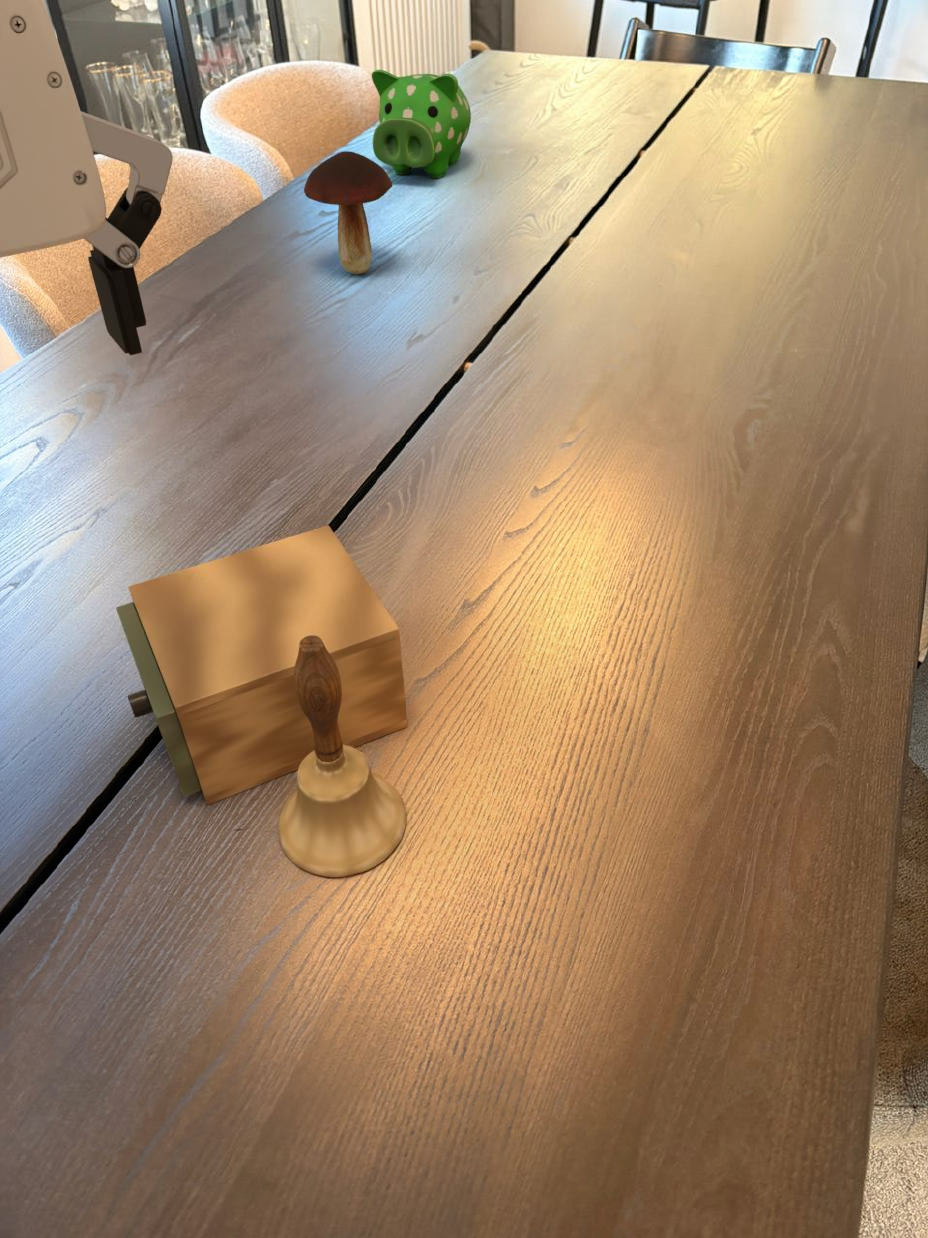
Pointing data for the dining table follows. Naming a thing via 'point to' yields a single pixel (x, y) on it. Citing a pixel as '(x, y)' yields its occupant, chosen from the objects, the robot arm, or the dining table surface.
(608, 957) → the dining table surface
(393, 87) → the piggy bank
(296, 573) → the cabinet
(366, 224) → the decorative mushroom
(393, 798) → the hand bell
